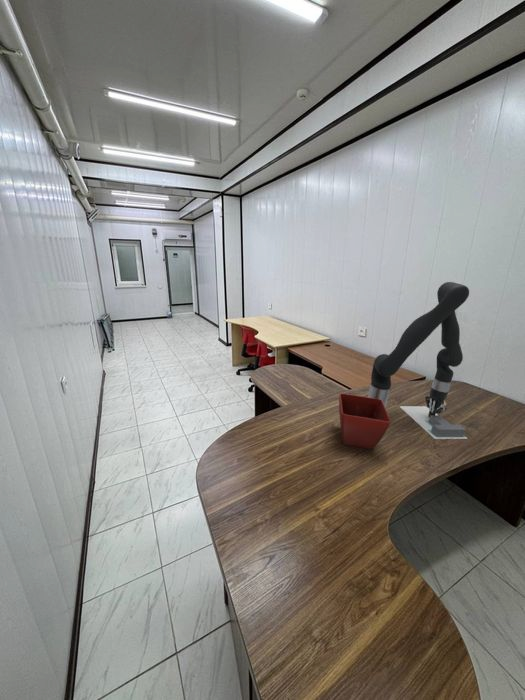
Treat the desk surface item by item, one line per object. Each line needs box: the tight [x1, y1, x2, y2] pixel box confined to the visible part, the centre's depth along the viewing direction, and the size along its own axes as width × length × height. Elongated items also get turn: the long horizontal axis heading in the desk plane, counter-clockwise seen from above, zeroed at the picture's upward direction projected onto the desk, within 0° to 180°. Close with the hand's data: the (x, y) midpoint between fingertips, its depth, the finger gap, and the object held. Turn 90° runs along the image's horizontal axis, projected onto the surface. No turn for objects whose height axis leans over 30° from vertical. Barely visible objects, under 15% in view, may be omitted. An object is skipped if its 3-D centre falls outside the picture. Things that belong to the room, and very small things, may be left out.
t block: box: [429, 414, 467, 437], centre depth 136 cm, size 14×12×4 cm
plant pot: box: [338, 392, 392, 450], centre depth 122 cm, size 19×19×17 cm
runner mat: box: [399, 405, 468, 440], centre depth 143 cm, size 17×29×1 cm, turn 6°
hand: (430, 417), depth 144 cm, fingers closed
